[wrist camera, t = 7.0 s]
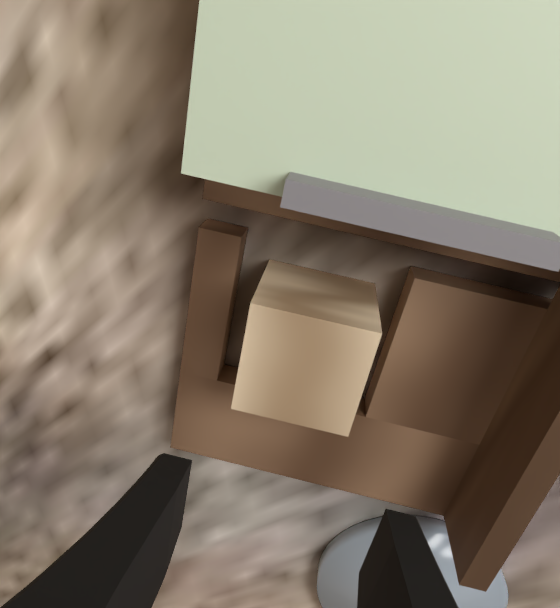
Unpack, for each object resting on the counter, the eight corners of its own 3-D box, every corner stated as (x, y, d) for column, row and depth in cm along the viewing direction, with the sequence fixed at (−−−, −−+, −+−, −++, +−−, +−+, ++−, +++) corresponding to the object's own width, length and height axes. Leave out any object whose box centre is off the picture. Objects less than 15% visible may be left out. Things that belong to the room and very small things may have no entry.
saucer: (534, 543, 22) (541, 559, 21) (463, 653, 26) (466, 670, 25) (342, 495, 22) (342, 509, 21) (300, 611, 26) (299, 626, 25)
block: (375, 282, 18) (382, 333, 14) (347, 371, 19) (347, 436, 16) (269, 258, 18) (250, 303, 14) (252, 348, 20) (230, 408, 16)
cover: (990, -213, 8) (1199, -310, 6) (683, 278, 12) (749, 316, 10) (258, -356, 8) (230, -490, 6) (195, 165, 12) (167, 180, 10)
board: (799, -72, 12) (1012, -146, 8) (482, 504, 21) (513, 598, 17) (262, -183, 12) (224, -303, 9) (179, 429, 22) (142, 504, 18)
